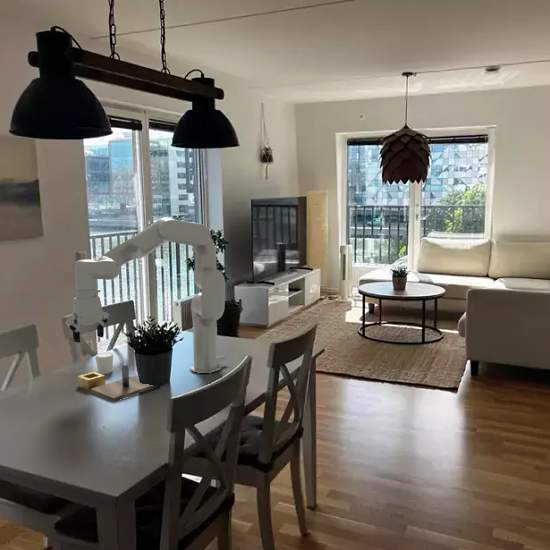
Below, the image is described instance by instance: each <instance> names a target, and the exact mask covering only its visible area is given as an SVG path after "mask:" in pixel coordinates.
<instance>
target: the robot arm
mask: <svg viewBox="0 0 550 550" xmlns="http://www.w3.org/2000/svg"><path fill="white" fill-rule="evenodd" d="M211 234H212V233H211V230H210V227H208V226H206V225H205V224H203V223H197V222H194V221H193V222H192V221H184V220H179V219H174V218H170V217H161V218H159V219H158V220H156V221H154V222H152V224H150V225H149V226H146V228H144V229H143V230H141V231H140V232H138V233H137V234H135V235H134V236H132V237H131V238H128V239H127V240H125V241H123V242H121V243H120V244H118V245H116V246H115V247H113V248H112V249H110V250H108V251H106V252H105V253H104V254H102V255H101V256H100V257H99V258H98V259H97V260H94V259H88V258H87V259H79V260H76V261H75V263H74V274H75V275H74V276H75V279H74V280H75V281H74V282H75V297H74V298H73V302H72V310H71V311H72V312H71V316H70V317H69V318H67V319H66V320H65V324H66V325H67V328H68V329H70V331H72V339H73V342H75V343H78V344H79V343H81V332H80V329H81V327H83V326H90V325H94V324H97V326H96V335H97V337H99V338H104V337H105V336H104V334H105V326H106V324H107V322H108V319H109V317H110V312H109V313H108V312H106V311H103V307H102V302H101V297H100V296H99V293H101V288H98V280H107V281H108V280H109V281H110V280H114V279H116V278H117V277H118V276H119V274H120V272H121V267H122V266H124V265H125V264H127V263H129V262H131V261H133V260H136V259H142V258H144V257H146V256H148V255H149V254H151V253H152V252H154V251H155V250H157V249H159V248H160V247H161V246H162V245H164V244H166V243H167V242H169V243H175V244H179V245H180V244H181V245H187V246H191V247H192V249H193V253H194V272H193V273H194V275H193V276H194V277H193V278H194V279H193V281H194V284H195V286H196V287H197V288H199V289H200V290H201V292H198V293H196V294H195V295H194V296H193V297H192V299H191V303H190V310H191V317H192V334H193V335H192V336H193V340H192V342H193V343H192V344H193V364H191V365H190V366H189V370H190V371H191V372H192V371H193V372H192V373H194V372H197V373H196V374H199V373H209V374H213V373H212V372H215V371H218V370H220V369H221V370H222V365H221V364H220V363H221V362H224V361H225V360H226V356H225V355H221V356H218V327H217V326H218V325H217V321H218V320H219V319H221V318H222V316H223V314H224V311H225V305H226V304H225V303H226V301H225V300H226V279H225V276H224V275H223V273H222V272H221V271H220V270H219V269H217V249H216V244H215V242H214V240H213V238H212V235H211ZM221 370H220V371H221ZM218 372H219V371H218ZM215 373H216V372H215Z"/></svg>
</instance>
